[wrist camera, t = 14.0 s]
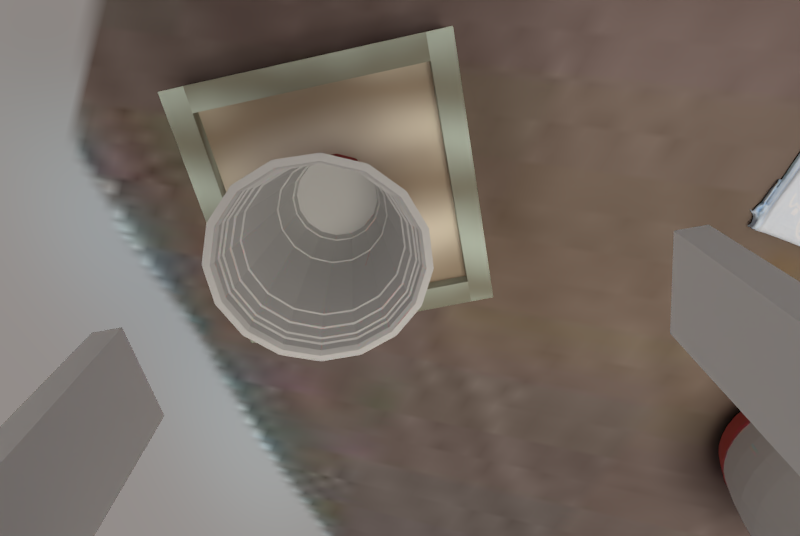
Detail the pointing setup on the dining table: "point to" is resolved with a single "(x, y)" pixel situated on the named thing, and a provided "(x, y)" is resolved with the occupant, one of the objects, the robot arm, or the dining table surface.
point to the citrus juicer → (759, 481)
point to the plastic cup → (317, 256)
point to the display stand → (351, 137)
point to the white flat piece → (781, 208)
